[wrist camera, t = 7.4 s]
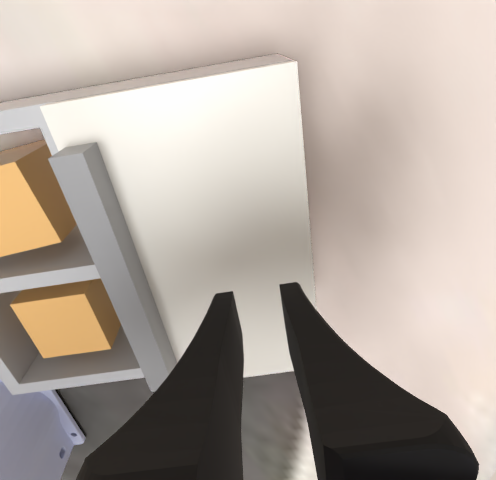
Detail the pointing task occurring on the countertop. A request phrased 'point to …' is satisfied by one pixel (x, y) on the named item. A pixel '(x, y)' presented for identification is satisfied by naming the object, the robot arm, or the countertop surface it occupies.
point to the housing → (68, 277)
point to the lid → (192, 206)
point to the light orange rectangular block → (31, 200)
